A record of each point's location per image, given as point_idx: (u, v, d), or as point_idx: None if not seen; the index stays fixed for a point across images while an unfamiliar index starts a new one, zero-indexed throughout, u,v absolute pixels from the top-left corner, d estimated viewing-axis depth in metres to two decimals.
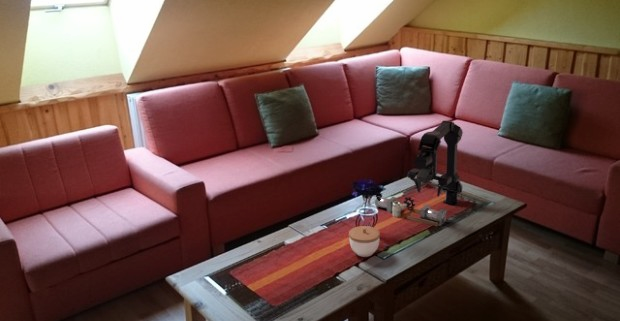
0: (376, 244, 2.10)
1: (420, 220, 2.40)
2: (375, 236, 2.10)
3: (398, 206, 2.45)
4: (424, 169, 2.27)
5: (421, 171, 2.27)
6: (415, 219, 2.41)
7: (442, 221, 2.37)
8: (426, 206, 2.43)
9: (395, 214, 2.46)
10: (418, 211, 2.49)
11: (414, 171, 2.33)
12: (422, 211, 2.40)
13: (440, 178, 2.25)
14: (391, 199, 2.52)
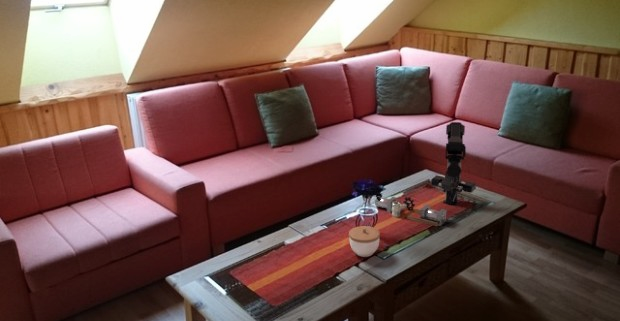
0: (376, 244, 2.10)
1: (420, 220, 2.40)
2: (375, 236, 2.10)
3: (398, 206, 2.45)
4: (448, 176, 2.26)
5: (445, 178, 2.25)
6: (415, 219, 2.41)
7: (442, 221, 2.37)
8: (426, 206, 2.43)
9: (395, 214, 2.46)
10: (418, 211, 2.49)
11: (437, 178, 2.32)
12: (422, 211, 2.40)
13: (465, 185, 2.24)
14: (391, 199, 2.52)
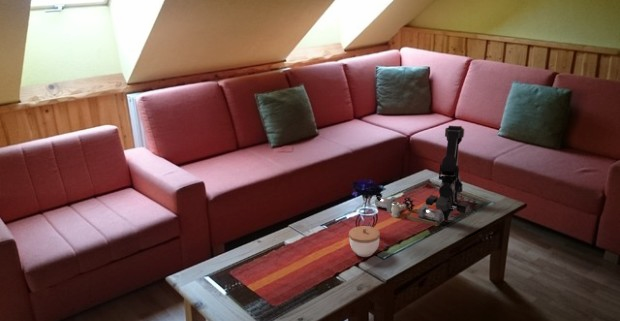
0: (376, 244, 2.10)
1: (420, 220, 2.40)
2: (375, 236, 2.10)
3: (397, 206, 2.45)
4: (442, 197, 2.30)
5: (439, 199, 2.30)
6: (415, 219, 2.41)
7: (440, 220, 2.38)
8: (424, 206, 2.43)
9: (394, 214, 2.46)
10: (418, 211, 2.49)
11: (432, 198, 2.37)
12: (420, 211, 2.40)
13: (459, 206, 2.28)
14: (391, 199, 2.52)
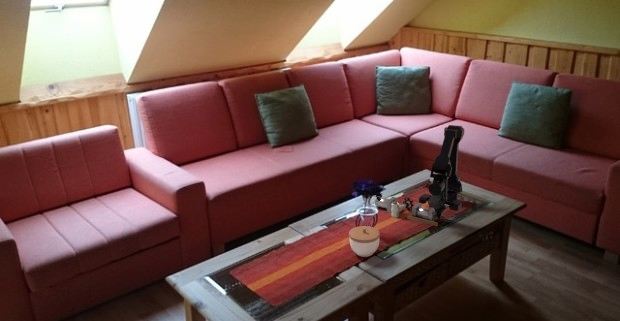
0: (376, 244, 2.10)
1: (420, 220, 2.40)
2: (375, 236, 2.10)
3: (397, 207, 2.44)
4: None
5: (432, 197, 2.32)
6: (415, 219, 2.41)
7: (433, 219, 2.40)
8: (418, 204, 2.45)
9: (394, 215, 2.46)
10: None
11: (425, 196, 2.39)
12: (413, 209, 2.42)
13: (451, 204, 2.30)
14: (391, 199, 2.52)
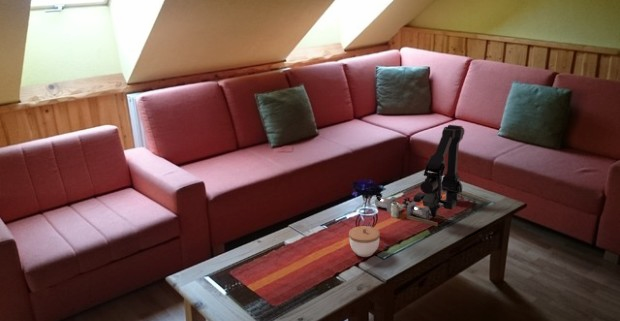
0: (376, 244, 2.10)
1: (420, 220, 2.40)
2: (375, 236, 2.10)
3: (397, 207, 2.44)
4: (429, 193, 2.34)
5: (426, 195, 2.33)
6: (415, 219, 2.41)
7: (428, 217, 2.41)
8: (412, 203, 2.46)
9: (394, 215, 2.46)
10: None
11: (419, 195, 2.40)
12: (408, 208, 2.44)
13: (445, 202, 2.32)
14: (391, 199, 2.52)
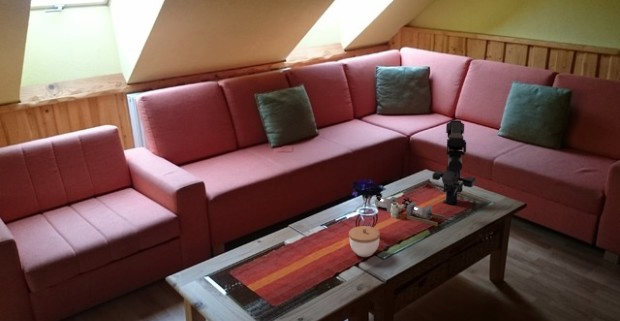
0: (376, 244, 2.10)
1: (420, 220, 2.40)
2: (375, 236, 2.10)
3: (396, 207, 2.44)
4: (449, 171, 2.32)
5: (446, 173, 2.31)
6: (415, 219, 2.41)
7: (428, 218, 2.41)
8: (412, 203, 2.46)
9: (393, 215, 2.46)
10: None
11: (439, 173, 2.38)
12: (408, 208, 2.44)
13: (465, 180, 2.30)
14: (391, 199, 2.52)
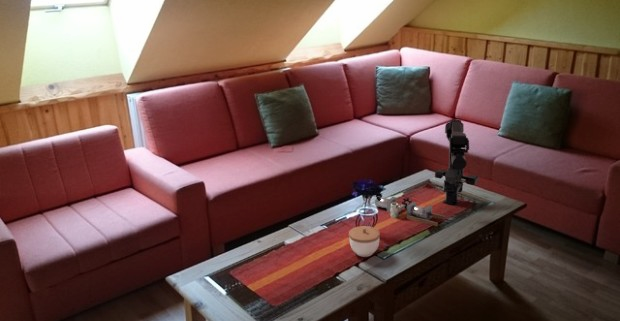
0: (376, 244, 2.10)
1: (420, 220, 2.40)
2: (375, 236, 2.10)
3: (396, 207, 2.44)
4: (452, 169, 2.33)
5: (449, 171, 2.32)
6: (415, 219, 2.41)
7: (428, 218, 2.41)
8: (412, 203, 2.46)
9: (393, 215, 2.45)
10: None
11: (441, 171, 2.39)
12: (408, 208, 2.44)
13: (468, 178, 2.30)
14: (391, 199, 2.52)
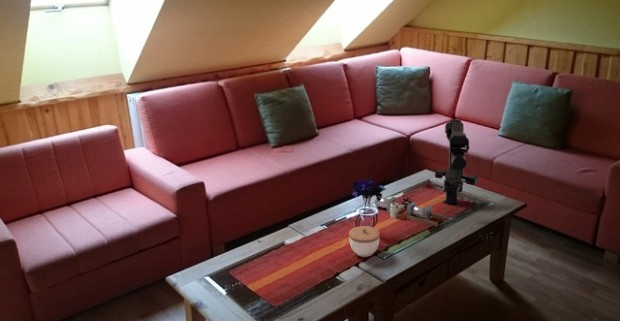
0: (376, 244, 2.10)
1: (420, 220, 2.40)
2: (375, 236, 2.10)
3: (396, 207, 2.44)
4: (452, 169, 2.33)
5: (449, 171, 2.32)
6: (415, 219, 2.41)
7: (428, 218, 2.41)
8: (412, 203, 2.46)
9: (393, 215, 2.45)
10: None
11: (441, 171, 2.39)
12: (408, 208, 2.44)
13: (468, 178, 2.30)
14: (391, 199, 2.52)
